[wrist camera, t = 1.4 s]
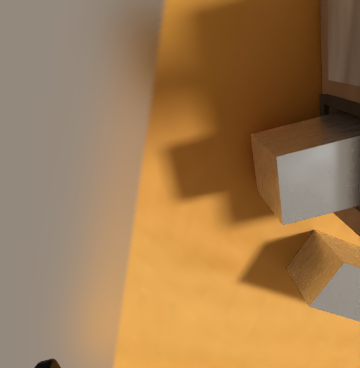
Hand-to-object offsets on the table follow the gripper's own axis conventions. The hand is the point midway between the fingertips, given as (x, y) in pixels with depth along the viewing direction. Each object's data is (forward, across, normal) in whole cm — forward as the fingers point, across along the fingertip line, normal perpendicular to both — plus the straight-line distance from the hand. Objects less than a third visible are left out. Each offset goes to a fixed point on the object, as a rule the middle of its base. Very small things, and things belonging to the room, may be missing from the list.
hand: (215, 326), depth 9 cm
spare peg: (+12, -11, +12) cm, 20 cm away
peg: (+11, -8, +1) cm, 14 cm away
